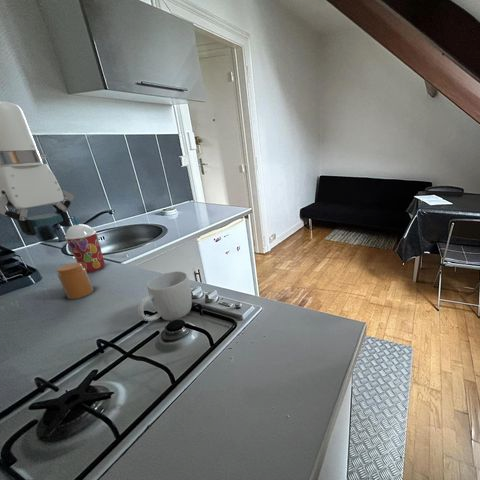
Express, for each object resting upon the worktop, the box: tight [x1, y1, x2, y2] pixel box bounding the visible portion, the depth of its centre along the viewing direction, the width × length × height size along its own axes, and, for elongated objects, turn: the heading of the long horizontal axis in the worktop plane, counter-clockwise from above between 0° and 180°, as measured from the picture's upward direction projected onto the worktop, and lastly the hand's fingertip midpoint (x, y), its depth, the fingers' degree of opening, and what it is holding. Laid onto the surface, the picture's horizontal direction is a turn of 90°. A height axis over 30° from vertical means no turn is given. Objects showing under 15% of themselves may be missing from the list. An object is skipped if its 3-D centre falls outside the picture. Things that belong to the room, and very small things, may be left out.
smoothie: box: [64, 216, 105, 273], centre depth 91 cm, size 8×8×20 cm
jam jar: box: [56, 262, 94, 300], centre depth 77 cm, size 6×6×10 cm
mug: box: [136, 271, 193, 322], centre depth 65 cm, size 13×9×10 cm
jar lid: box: [27, 212, 63, 228], centre depth 67 cm, size 7×7×2 cm
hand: (48, 229), depth 68 cm, fingers closed on jar lid, 6 cm apart
